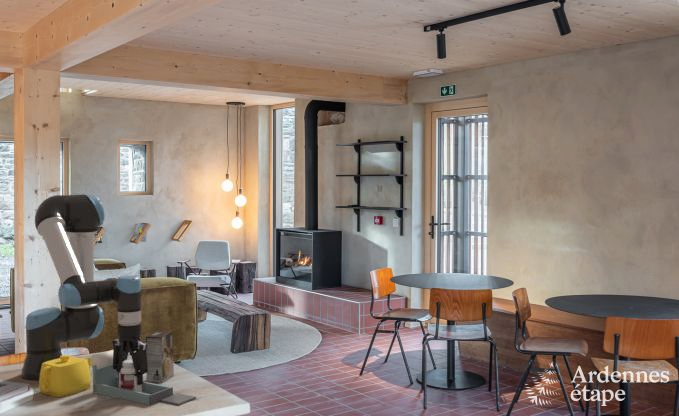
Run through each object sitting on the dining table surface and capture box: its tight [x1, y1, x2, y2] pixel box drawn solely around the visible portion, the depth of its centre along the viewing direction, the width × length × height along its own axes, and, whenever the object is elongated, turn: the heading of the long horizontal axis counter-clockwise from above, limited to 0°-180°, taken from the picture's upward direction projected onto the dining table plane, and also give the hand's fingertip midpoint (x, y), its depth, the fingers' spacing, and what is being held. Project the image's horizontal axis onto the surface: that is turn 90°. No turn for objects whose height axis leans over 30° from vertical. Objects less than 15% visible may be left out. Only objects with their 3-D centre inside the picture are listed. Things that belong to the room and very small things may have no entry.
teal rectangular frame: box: [90, 349, 174, 406], centre depth 241 cm, size 28×10×12 cm, turn 60°
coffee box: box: [145, 330, 175, 383], centre depth 259 cm, size 9×6×16 cm
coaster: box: [160, 392, 197, 406], centre depth 235 cm, size 8×8×1 cm
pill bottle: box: [120, 358, 140, 391], centre depth 242 cm, size 6×6×11 cm
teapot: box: [38, 354, 92, 398], centre depth 246 cm, size 20×12×12 cm, turn 147°
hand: (130, 392), depth 242 cm, fingers closed on pill bottle, 6 cm apart
